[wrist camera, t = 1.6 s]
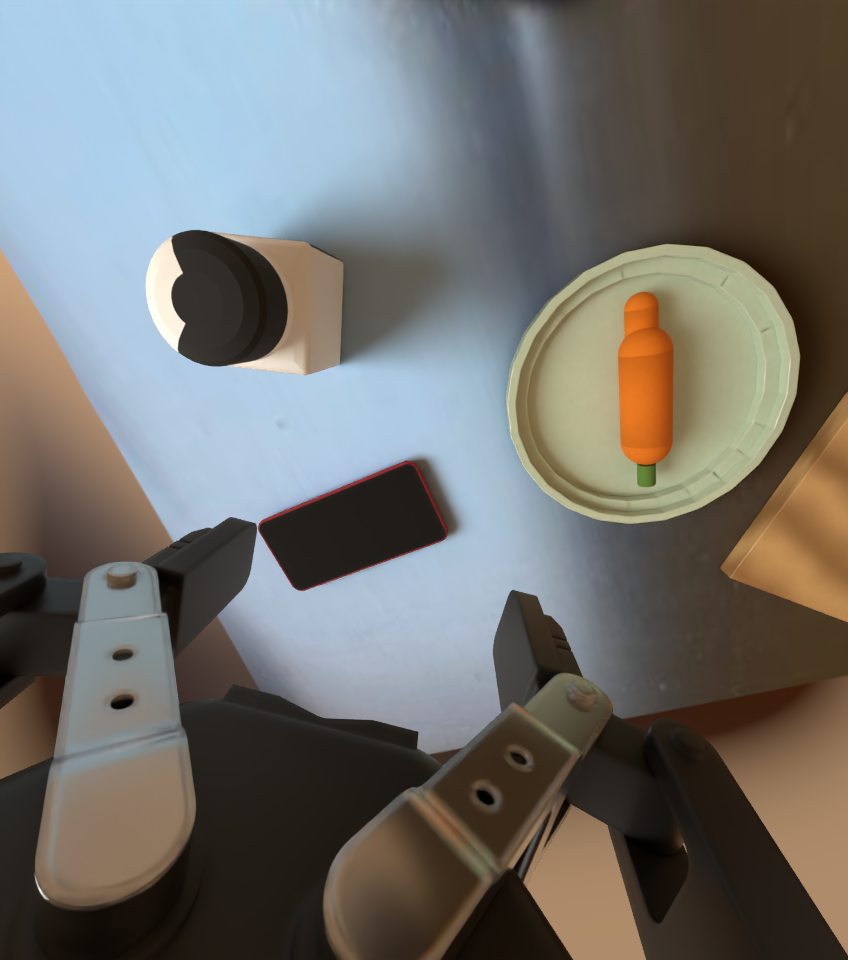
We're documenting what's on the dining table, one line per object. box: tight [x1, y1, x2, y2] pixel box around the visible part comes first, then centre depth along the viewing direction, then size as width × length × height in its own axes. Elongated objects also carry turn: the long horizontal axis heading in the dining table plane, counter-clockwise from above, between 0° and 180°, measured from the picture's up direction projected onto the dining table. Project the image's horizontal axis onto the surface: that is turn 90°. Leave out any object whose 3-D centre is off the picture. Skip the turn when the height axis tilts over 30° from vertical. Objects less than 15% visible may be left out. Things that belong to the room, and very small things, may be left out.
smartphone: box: [258, 461, 448, 591], centre depth 36 cm, size 7×1×15 cm
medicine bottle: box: [146, 230, 344, 375], centre depth 25 cm, size 7×7×12 cm
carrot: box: [618, 292, 674, 487], centre depth 29 cm, size 13×3×3 cm, turn 10°
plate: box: [505, 244, 800, 524], centre depth 30 cm, size 18×18×2 cm
